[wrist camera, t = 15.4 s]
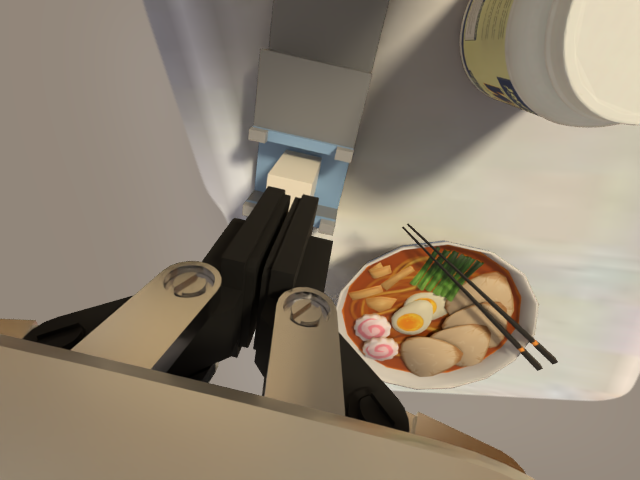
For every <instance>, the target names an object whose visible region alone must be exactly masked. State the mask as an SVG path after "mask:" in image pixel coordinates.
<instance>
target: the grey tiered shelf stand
mask: <svg viewBox="0 0 640 480" xmlns="http://www.w3.org/2000/svg"><path fill="white" fill-rule="evenodd" d="M388 4H389V0H273V11H272V21H271V31H270V41H269V49H260V58H259V69H258V81H257V92H256V104H255V116H254V126H253V127H251V128H250V129H249V136H248V140H252V141H256V142H259V149H258V159H257V169H256V179H255V190H254V191H253V193H252V194H251V195H250V197H249V198H248V199H247V201H246V202H245V203H244V204H243V211H242V215H244V216H249V215H250V213H251V211H252V210H253V208H254V207H255V205H256V204H257V202H258V201H259V199H260V198H261V196H262V195H263V193H264V192H265V190H266V186H267V177H268V173H269V172H270V170H271V169H272V168H273V166H274V165H275V164H276V162H277V161H278V160H279V158H280V157H281V156H282V154H283V153H284V152H285V150H291V151H295V152H299V153H304V154H308V155H312V156H317V157H321V158H322V161H321V166H320V171H319V176H318V180H317V185H316V190H315V194H314V197H318V198H319V202H318V207H317V211H316V216H315V221H314V225H313V227H317V228H319V231H318V232H319V233H323V234H327V235H332V236H333V232H334V228H335V222H336V216H337V210H338V206H339V201H340V197H341V193H342V189H343V185H344V181H345V177H346V173H347V169H348V165H349V163H351V160H352V156H353V151H354V145H355V141H356V137H357V133H358V129H359V125H360V121H361V117H362V113H363V109H364V105H365V101H366V97H367V93H368V89H369V85H370V81H371V77H372V68H373V64H374V60H375V56H376V52H377V48H378V44H379V40H380V36H381V32H382V28H383V24H384V20H385V16H386V12H387V8H388Z"/></svg>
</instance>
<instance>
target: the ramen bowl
mask: <svg viewBox="0 0 640 480" xmlns="http://www.w3.org/2000/svg"><path fill="white" fill-rule="evenodd" d="M407 225H408V226H409V227H410V228H411V229H412V230H413V231H414V232H415V233H416V234H417V235H418V236H419V237H420V238H421V239H423V240H424V241H425V242H426V243H419V242H418V241H417V240H416V239H415V238H414V237H413V236H412V235H411V234H410V233H409V232H408V231H407V230H406V229H405V228H404V227H402V228H403V229H404V230H405V231H406V232H407V233H408V234H409V235H410V237H411V238H412V239H413V240H414V241H415V242H416V243H417V244H412V245H404V246H401V247H399V248H397V249H394V250H392V251H390V252H388V253H386V254H384V255H382V256H379V257H377V258H375V259H373V260H371V261H369V262H367V263H366V264H365V265H364V266H363V267H362V268H361V269H360V271H359V272H358V273H357V274H356V275H355V276H354V277H353V278H352V279H351V280H350V282H349V283H348V284H347V285H346V286H345V287H344V288H343V289H342V290H341V291H340V294H339V297H338V301H337V304H336V310H337V317H338V329H339V333H340V334H341V335H342V336H343V337H344V338H345V339H346V341H347V342H348V343H349V344H350V345H351V346H352V347H353V348H354V350H355V351H356V352H357V353H358V354H359V355H360V356H361V358H362V359H363V360H364V361H365V362H366V363H367V364H368V365H369V367H370V368H371V369H372V370H373V371H374V372H375V373H376V374H377V376H378V377H379V378H380V379H381V380H382V381H383V382H385V383H390V384H394V385H399V386H403V387H408V388H412V389H416V390H419V389H447V388H455V387H458V386H462V385H465V384H469V383H473V382H476V381H480V380H483V379H486V378H488V377H490V376H491V375H493V374H494V373H496V372H497V371H499V370H501V369H502V368H504V367H505V366H507V365H508V364H510V363H512V362H513V361H515V360H516V358H517V357H518V356H519V355H520V353H521V354H522V355H523V356H524V357H525V358H526V359H527V360H528V361H529V362H530V363H531V364H532V365H533V366H534V368H535V369H536V370H537V371H538V370H541V369H543V368H542V366H541V365H540V363H539V362H538V361H537V360H536V359H535V358H534V357H533V356H532V355H531V354H530V353H529V352H528V351H527V350H526V349H525V347H526V345H527V344H528V343H529V342H530V343H531V344H533V346H534V347H535V348H536V349H537V350H538V351H539V352H540V353H541V354H542V355H543V356H544V357H546V358H547V359H548V360H549V361H550V362H551V363H552V364H555V363H557V362H558V361H557V360H556V358H555V357H554V356H553V355H552V354H551V353H550V352H548V351H547V350H546V349H545V348H544V347H543V346H542V345H541V344H540V343H539V342H537V341H536V340H535V339H534V338H533V336H534V335H535V329H536V322H537V314H538V307H539V304H538V302H537V299H536V297H535V295H534V293H533V291H532V289H531V286H530V284H529V282H528V280H527V278H526V276H525V274H523V273H522V272H521V271H519V270H518V269H516V268H515V267H513V266H512V265H510V264H509V263H507V262H506V261H505V260H503V259H502V258H500V257H499V256H497V255H496V254H494V253H493V252H490V251H486V250H483V249H479V248H474V247H470V246H465V245H461V244H457V243H452V242H448V241H436V242H428V241H427V240H426V239H425V238H424V237H422V236H421V235H420V234H419V233H418V232H417V231H416V230H415V229H414V228H413V227H411V226H410V225H409V224H407Z"/></svg>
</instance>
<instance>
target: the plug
mask: <svg viewBox="0 0 640 480" xmlns="http://www.w3.org/2000/svg"><path fill="white" fill-rule="evenodd" d="M321 161H322V158H321V157H317V156H312V155H308V154H304V153H299V152H295V151H291V150H285V152H284V153H283V154H282V156H281V157H280V158H279V160H278V161H277V162H276V164H275V165H274V166H273V168H272V169H271V170H270V172H269V173H268V177H267V186H266V188H267V187H268V186H271V187H275V188H280V189H284V190H285V194H286V195H290V196H291V199H290V206H289V210H290V208H291V205H292V203H293V201H294V199H295V197H299V198H301V197H302V195H303V194H305V195H309V196H313V197H314V194H315V190H316V185H317V180H318V176H319V171H320V166H321Z"/></svg>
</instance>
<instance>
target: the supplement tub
mask: <svg viewBox="0 0 640 480" xmlns="http://www.w3.org/2000/svg"><path fill="white" fill-rule="evenodd" d="M460 54H461V60H462V64H463V67H464V70H465V72H466V74H467V76H468V78H469V79H470V81H471V82H472V83H473V84H474V85H475V86H476V87H477V88H478V89H479V90H480V91H481V92H482V93H484V94H485V95H487V96H489V97H491V98H493V99H495V100H498V101H502V102H505V103H507V104H510V105H512V106H515V107H517V108H520V109H523V110H525V111H528V112H530V113H533V114H535V115H538V116H541V117H543V118H545V119H547V120H549V121H551V122H554V123H557V124H561V125H566V126H574V127H605V126H611V125H616V124H627V125H640V0H469V2H468V5H467V7H466V10H465V13H464V16H463V20H462V24H461V30H460Z"/></svg>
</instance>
